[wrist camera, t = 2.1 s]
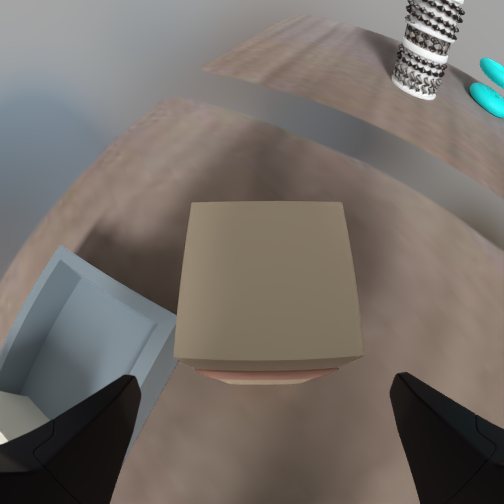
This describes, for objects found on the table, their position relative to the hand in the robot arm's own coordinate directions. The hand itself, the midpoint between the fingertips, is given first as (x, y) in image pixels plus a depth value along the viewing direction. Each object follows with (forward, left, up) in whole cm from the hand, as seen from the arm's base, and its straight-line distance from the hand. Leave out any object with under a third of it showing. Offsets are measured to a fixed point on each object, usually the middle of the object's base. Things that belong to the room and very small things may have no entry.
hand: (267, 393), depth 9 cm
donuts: (+61, -24, -11) cm, 66 cm away
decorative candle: (+50, -6, -10) cm, 51 cm away
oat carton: (+3, +1, -10) cm, 11 cm away
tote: (-8, +12, -10) cm, 18 cm away
